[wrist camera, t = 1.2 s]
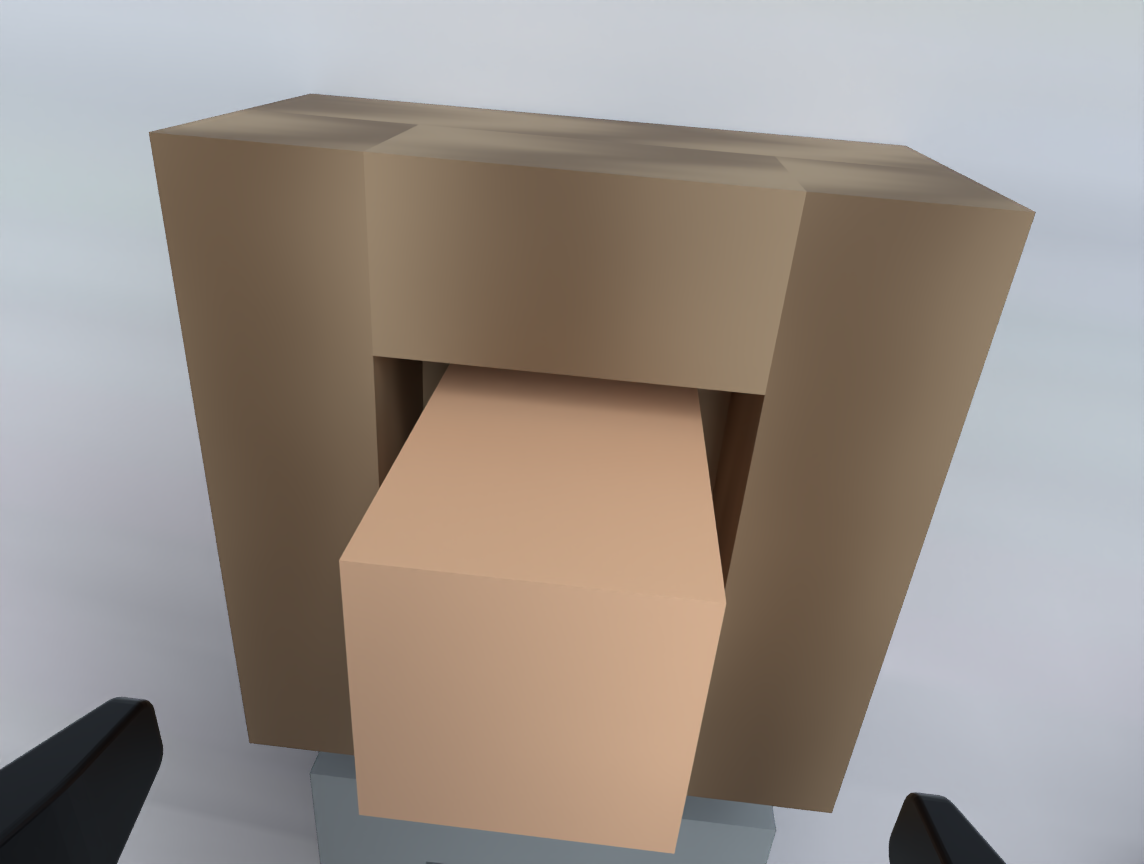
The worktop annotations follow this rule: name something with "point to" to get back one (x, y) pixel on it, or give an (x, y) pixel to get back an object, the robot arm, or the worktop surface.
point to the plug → (536, 610)
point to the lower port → (502, 860)
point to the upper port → (586, 369)
